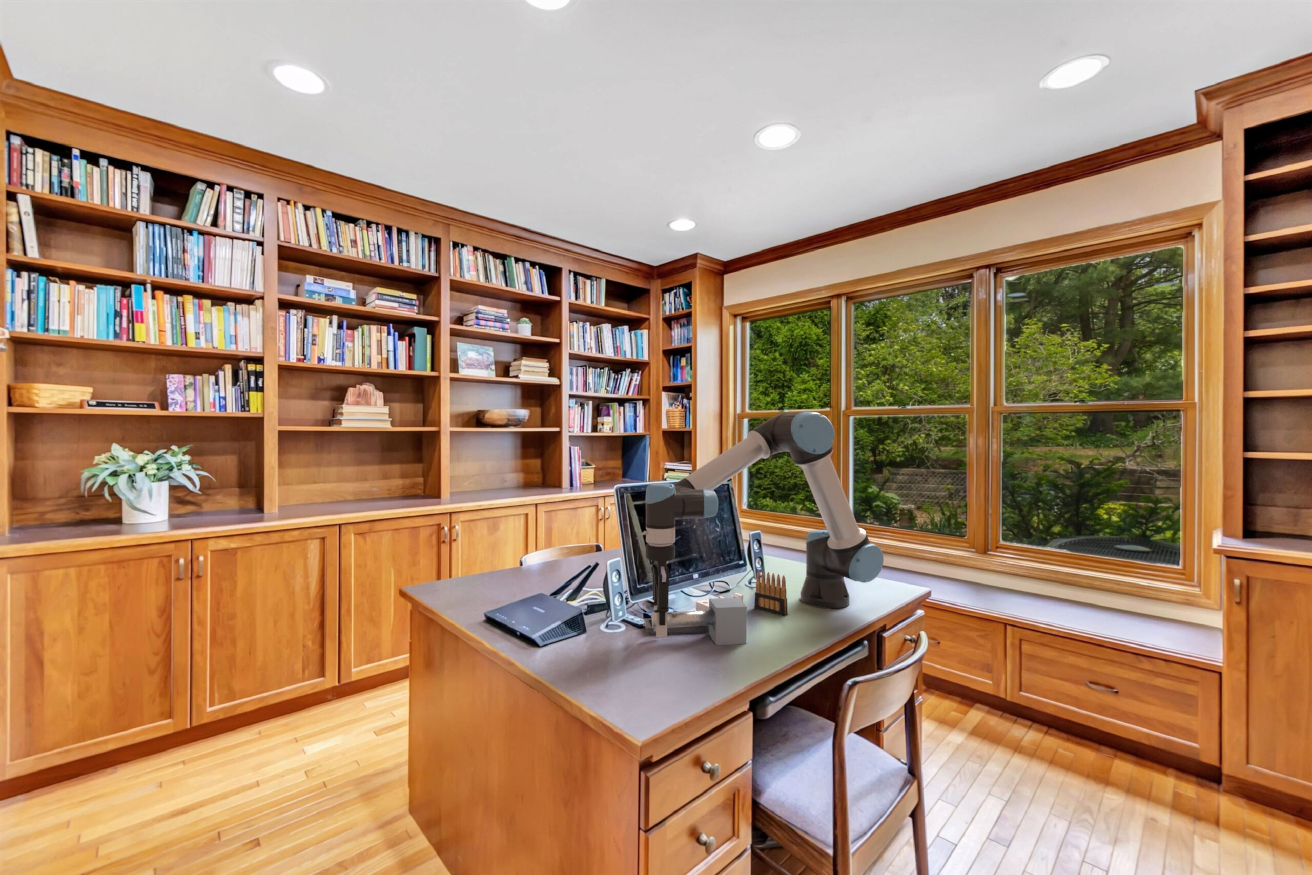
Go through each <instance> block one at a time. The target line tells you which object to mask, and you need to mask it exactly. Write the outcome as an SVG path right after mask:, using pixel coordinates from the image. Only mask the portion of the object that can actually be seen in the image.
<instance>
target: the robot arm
mask: <svg viewBox="0 0 1312 875" xmlns="http://www.w3.org/2000/svg"><path fill="white" fill-rule="evenodd" d="M835 436H836V433H835V429H834V426H833V424H832V422H831V420H830V419H829V418H828V417H827V416H825V415H823V414H822V413H819V412H817V411H816V412H815V411H809V410H808V411H806V410H805V411H801V412H784V413H780V414H779V413H778V414H777V415H775V416H773V417H771V418H769V419H767V420H766V421H764V422H763V423H761V424H759V425H758V426H756V427H755V428H753V429H752V430H750V431H749V432H748V433H747V437H745V438H744V439H743V440H741V441H739V442H738V443H736V444H735V445H733V446H731V447H730V448H728V449H727V450H725V451H724V452H722V453H721V454H719V455H717V456H716V457H714V458H713V459H711V460H710V461H708V462H707V463H705V464H704V465H702V466H701V467H699V468H698V469H696V470H694V471H693V472H691V473H689V475H687V476H685V477H684V478H682V479H680V480H679V481H677V482H676V483H670V482H669V483H667V482H654V483H649V484H648V485H647V486H646V488H645V489H646V492H645V502H644V503H645V529H646V530H644V531H643V534H644V535H645V542H646V543H647V544H645V558H646V559H647V560H648V561H652V564H651V571H652V600H653V601H652V602H653V613H656V628H655V629H654V631H656V635H655V637H656V639H657V638H659V639H660V638H667V637H668V634H667V612H670V610H669V608H670V607H669V600H670V598H669V596H670V595H669V594H670V593H669V584H670V583H669V581H670V567H669V566H668V564H667V562H668V561H672V560H674V559H675V557H676V546H675V544H674V543H675V542H676V520H687V519H706V518H707V519H708V518H713V517H715V516H716V515H717V513H718V511H719V498H718V495H717V493H716V492H715V491H714V490H715V489H717V488H719V486H722V485H723V484H724V483H726V482H727V481H728V480H731V479H732V478H733V477H735V476H736V475H738V474H740V473H741V472H742V471H744V470H746V469H747V468H748V467H750V466H752V465H753V464H755V463H756V462H758V461H759V460H761V459H768V458H770V457H771V456H773V455H775V454H778V453H785V452H786V453H787V452H788V453H789V454H790V457H791V459H792V461H793V464H794V465H795V466H798V467H800V468H801V469H802V471H803V473H804V477H805V479H806V481H807V484H808V486H809V489H810V491H811V493H812V496H813V499H814V502H815V503H816V505H817V508H818V510H819V513H820V515H821V518H822V520H823V523H824V525H825V528H826V529H817V530H811V531H809V532H808V533H807V534H806V541H805V544H806V545H805V546H806V548H805V550H806V551H805V552H806V554H805V558H806V560H805V561H806V564H805V566H806V568H805V569H806V573H805V574H806V576H805V579H804V581H803V584H802V587H801V590H800V600H801V602H803V603H804V604H806V605H808V606H812V607H818V608H822V609H823V608H824V609H842V608H845V607H848V606H849V605H850V594H849V592H848V588H847V585H846V582H845V578H846V579H849V580H851V581H854V582H858V583H864V584H865V583H866V584H867V583H870V582H872V581H874V580H876V578H877V577H878V576H879V574H880V573H881V571H882V569H883V568H882V567H883V566H884V559H885V558H884V554H883V550H881V547H879V546H878V545H876V544H875V543H871V542H870V539H869V537H868V534H867V532H866V530H865V529H864V528H862V527H859V525H858V523H857V521H856V519H855V515H854V513H853V511H852V508H851V505H850V503H849V501H848V498H847V496H846V493H845V491H844V488H843V485H842V482H841V481H840V478H839V476H838V473H837V471H836V468H835V466H834V463H833V460H832V458H831V456H832V454H833V452H834V448H833V445H834V442H835V440H834V438H835Z"/></svg>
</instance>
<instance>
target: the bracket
mask: <svg viewBox="0 0 1312 875" xmlns="http://www.w3.org/2000/svg"><path fill="white" fill-rule="evenodd" d="M733 596H734V597H733V598H739V599H740V600H741V601H742V602H743V603H744V594H741V593H738V592H735V593H734V595H733ZM718 598H725V597H724V596H722V595H720V596H718ZM709 599H710V598H708V599H702V600H697V601H695V611H701V610H709Z"/></svg>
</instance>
